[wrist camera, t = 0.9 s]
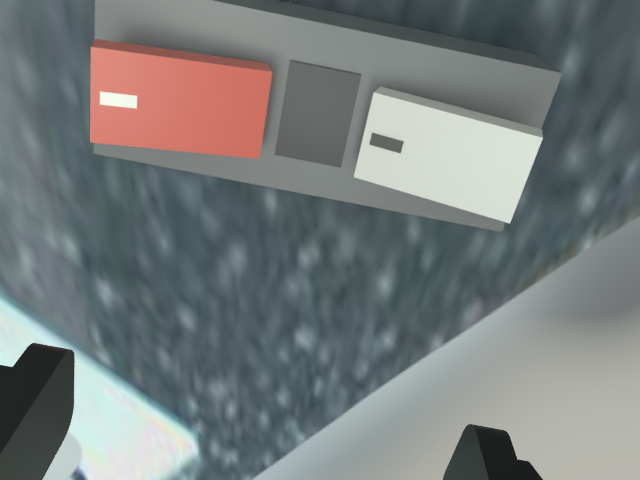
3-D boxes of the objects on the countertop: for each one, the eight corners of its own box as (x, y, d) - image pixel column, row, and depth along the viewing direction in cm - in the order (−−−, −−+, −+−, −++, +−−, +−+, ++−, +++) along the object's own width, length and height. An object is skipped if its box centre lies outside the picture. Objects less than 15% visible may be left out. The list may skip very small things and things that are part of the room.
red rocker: (267, 63, 29) (272, 72, 28) (255, 146, 31) (259, 159, 30) (94, 38, 27) (90, 47, 25) (94, 130, 29) (90, 143, 28)
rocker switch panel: (534, 53, 34) (569, 78, 28) (483, 196, 38) (506, 240, 32) (129, -32, 32) (86, -23, 27) (124, 125, 37) (86, 159, 31)
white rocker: (542, 129, 28) (542, 138, 27) (510, 211, 30) (509, 224, 29) (380, 86, 29) (373, 92, 28) (360, 167, 31) (353, 177, 30)
